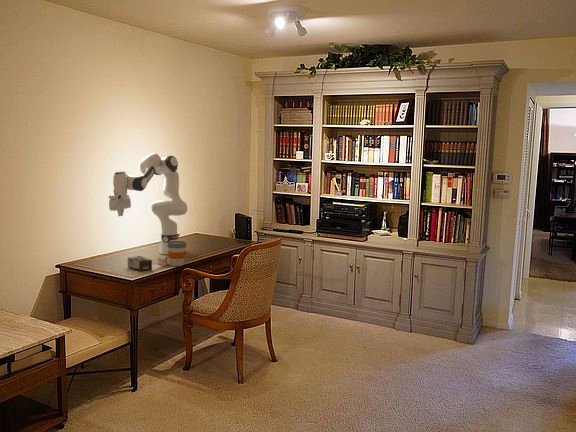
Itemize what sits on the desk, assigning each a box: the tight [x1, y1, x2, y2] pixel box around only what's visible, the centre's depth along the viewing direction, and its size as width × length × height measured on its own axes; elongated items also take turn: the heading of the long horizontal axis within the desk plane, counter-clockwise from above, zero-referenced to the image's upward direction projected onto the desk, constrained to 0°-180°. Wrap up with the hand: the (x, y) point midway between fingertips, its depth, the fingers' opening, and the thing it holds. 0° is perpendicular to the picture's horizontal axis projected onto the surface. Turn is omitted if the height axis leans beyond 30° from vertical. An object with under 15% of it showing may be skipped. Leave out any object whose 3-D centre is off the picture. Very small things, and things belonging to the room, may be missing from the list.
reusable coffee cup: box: [167, 240, 187, 267], centre depth 351 cm, size 12×13×15 cm
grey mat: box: [150, 263, 164, 271], centre depth 342 cm, size 14×14×1 cm
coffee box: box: [127, 255, 153, 272], centre depth 337 cm, size 9×6×16 cm
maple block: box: [157, 256, 168, 266], centre depth 351 cm, size 5×5×5 cm
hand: (120, 216), depth 353 cm, fingers closed
